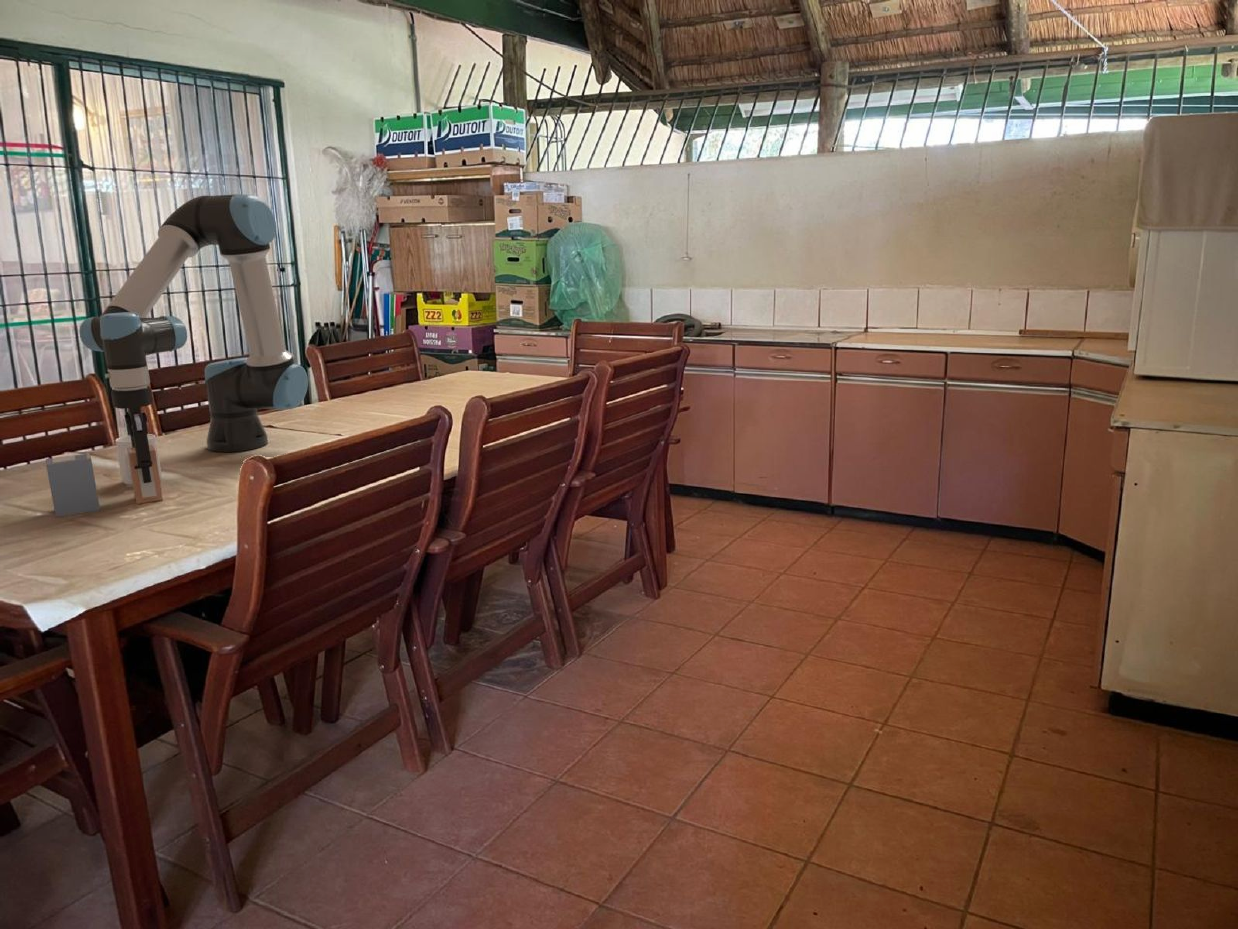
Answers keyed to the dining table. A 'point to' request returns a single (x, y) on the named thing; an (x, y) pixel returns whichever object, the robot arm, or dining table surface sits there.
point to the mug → (123, 459)
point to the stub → (135, 476)
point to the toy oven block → (72, 484)
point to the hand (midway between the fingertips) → (147, 492)
